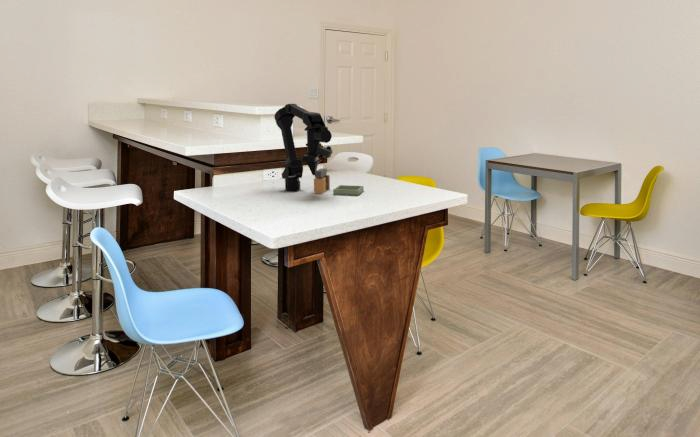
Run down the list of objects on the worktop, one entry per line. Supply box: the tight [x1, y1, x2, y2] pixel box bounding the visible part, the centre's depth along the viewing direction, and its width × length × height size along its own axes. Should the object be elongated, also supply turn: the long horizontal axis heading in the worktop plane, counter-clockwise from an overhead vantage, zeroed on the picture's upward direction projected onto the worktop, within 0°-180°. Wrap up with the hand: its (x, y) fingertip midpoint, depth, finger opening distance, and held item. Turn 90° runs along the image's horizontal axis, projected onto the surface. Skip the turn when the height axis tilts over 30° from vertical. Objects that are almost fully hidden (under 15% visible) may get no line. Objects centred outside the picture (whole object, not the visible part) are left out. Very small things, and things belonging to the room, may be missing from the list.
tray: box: [332, 184, 364, 197], centre depth 253 cm, size 12×12×3 cm
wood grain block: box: [323, 174, 331, 191], centre depth 262 cm, size 5×2×7 cm, turn 77°
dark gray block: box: [314, 168, 328, 178], centre depth 256 cm, size 3×10×3 cm, turn 167°
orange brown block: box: [313, 177, 327, 194], centre depth 255 cm, size 4×5×7 cm
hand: (314, 175), depth 245 cm, fingers closed
